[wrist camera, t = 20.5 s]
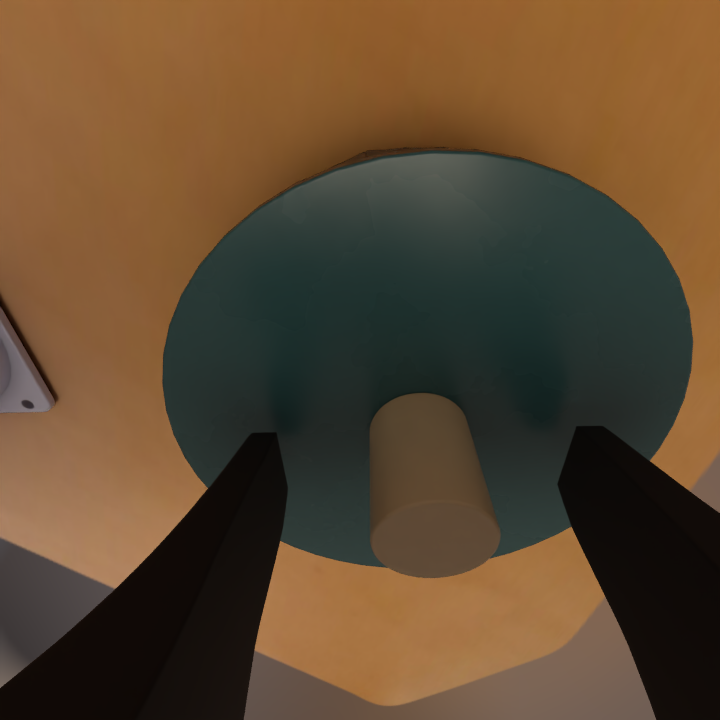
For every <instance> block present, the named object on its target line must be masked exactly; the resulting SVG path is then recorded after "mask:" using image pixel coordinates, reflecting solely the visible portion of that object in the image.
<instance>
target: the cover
mask: <svg viewBox="0 0 720 720" xmlns="http://www.w3.org/2000/svg"><path fill="white" fill-rule="evenodd" d="M692 350H693V336H692V328H691V320H690V311H689V308H688V305H687V302H686V298H685V295H684V292H683V289H682V286H681V283H680V280H679V278H678V276H677V274H676V272H675V270H674V269H673V267H672V265H671V263H670V261H669V260H668V258H667V256H666V254H665V253H664V251H663V249H662V248H661V246H660V245H659V244H658V243H657V242H656V241H655V239H654V238H653V237H652V236H651V235H650V234H649V232H648V231H647V230H646V229H645V228H644V227H643V225H642V224H641V223H640V222H639V221H638V220H637V219H636V218H635V217H634V216H632V215H631V214H630V213H629V212H627V211H626V210H625V209H624V208H622V207H621V206H620V205H619V204H617V203H616V202H615V201H614V200H612V199H611V198H610V197H609V196H607V195H606V194H604V193H602V192H600V191H598V190H597V189H595V188H593V187H591V186H589V185H587V184H586V183H584V182H582V181H580V180H578V179H576V178H575V177H573V176H571V175H569V174H566V173H564V172H561V171H558V170H555V169H553V168H550V167H547V166H544V165H541V164H538V163H535V162H532V161H530V160H527V159H524V158H521V157H516V156H511V155H505V154H499V153H494V152H488V151H483V150H477V149H452V148H423V149H414V150H406V151H397V152H389V153H381V154H377V155H374V156H370V157H366V158H362V159H359V160H355V161H351V162H348V163H344V164H340V165H337V166H334V167H332V168H330V169H327V170H325V171H323V172H320V173H318V174H316V175H313V176H311V177H309V178H306V179H304V180H302V181H299V182H297V183H295V184H293V185H292V186H290V187H289V188H287V189H285V190H284V191H282V192H280V193H279V194H277V195H276V196H274V197H272V198H271V199H269V200H267V201H266V202H264V203H263V204H261V205H259V206H258V207H257V208H256V209H255V210H254V211H252V212H251V213H250V214H249V215H248V216H247V217H245V218H244V219H243V220H242V221H241V222H239V223H238V224H237V225H236V226H235V227H234V228H232V229H231V230H230V231H229V232H228V233H227V234H226V235H225V236H224V237H223V238H222V239H221V240H220V242H219V243H218V244H217V245H216V246H215V247H214V249H213V250H212V251H211V252H210V253H209V254H208V255H207V257H206V258H205V259H204V260H203V261H202V262H201V264H200V265H199V266H198V268H197V270H196V271H195V273H194V275H193V276H192V278H191V280H190V281H189V283H188V285H187V286H186V288H185V290H184V291H183V293H182V294H181V297H180V299H179V302H178V304H177V307H176V309H175V312H174V315H173V317H172V320H171V322H170V325H169V329H168V334H167V339H166V344H165V349H164V354H163V391H164V398H165V405H166V411H167V414H168V417H169V421H170V424H171V427H172V430H173V434H174V436H175V438H176V440H177V442H178V444H179V446H180V448H181V450H182V452H183V455H184V457H185V458H186V460H187V461H188V463H189V464H190V466H191V467H192V469H193V470H194V472H195V473H196V475H197V476H198V477H199V479H200V480H201V481H202V482H203V483H204V484H205V485H206V487H207V488H209V487H210V486H211V484H212V483H213V482H214V481H215V479H216V478H217V477H218V476H219V474H220V473H221V472H222V470H223V469H224V468H225V467H226V465H227V464H228V463H229V461H230V460H231V459H232V457H233V456H234V455H235V453H236V452H237V451H238V449H239V448H240V447H241V445H242V444H243V443H244V441H245V440H246V439H247V437H248V436H249V435H250V434H251V433H263V432H277V437H278V442H279V447H280V451H281V456H282V461H283V466H284V471H285V475H286V480H287V485H288V494H287V502H286V510H285V518H284V525H283V531H282V535H281V539H280V541H282V542H284V543H286V544H289V545H291V546H293V547H296V548H298V549H301V550H304V551H307V552H310V553H312V554H315V555H319V556H323V557H326V558H330V559H334V560H338V561H343V562H348V563H354V564H359V565H366V566H376V567H385V568H390V569H392V570H394V571H396V572H399V573H401V574H405V575H409V576H414V577H422V578H440V577H448V576H454V575H458V574H461V573H464V572H467V571H470V570H472V569H474V568H476V567H478V566H480V565H482V564H483V563H484V562H486V561H487V560H488V559H490V558H493V557H497V556H501V555H505V554H508V553H511V552H514V551H517V550H520V549H523V548H526V547H528V546H531V545H534V544H536V543H539V542H541V541H543V540H545V539H548V538H550V537H552V536H554V535H556V534H559V533H560V532H562V531H564V530H566V529H568V528H569V527H571V524H570V521H569V518H568V515H567V513H566V510H565V507H564V504H563V501H562V498H561V495H560V492H559V488H558V485H557V483H558V480H559V477H560V474H561V471H562V468H563V465H564V462H565V459H566V456H567V453H568V450H569V447H570V444H571V441H572V438H573V435H574V432H575V429H576V426H604V427H605V428H607V429H608V430H609V431H611V432H612V433H614V434H615V435H616V436H618V437H619V438H620V439H622V440H623V441H624V442H626V443H627V444H628V445H629V446H631V447H632V448H633V449H635V450H636V451H637V452H639V453H640V454H641V455H642V456H644V457H645V458H646V459H648V460H649V461H650V460H651V458H652V457H653V456H654V455H655V453H656V452H657V451H658V450H659V448H660V446H661V445H662V443H663V441H664V440H665V438H666V436H667V435H668V433H669V431H670V430H671V428H672V426H673V425H674V422H675V420H676V417H677V415H678V413H679V410H680V408H681V405H682V403H683V401H684V398H685V394H686V390H687V386H688V381H689V377H690V373H691V365H692Z"/></svg>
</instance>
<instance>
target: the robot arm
mask: <svg viewBox="0 0 720 720" xmlns="http://www.w3.org/2000/svg"><path fill="white" fill-rule="evenodd" d="M54 405H55V401H54V398H53V397H52V395H51V393H50V391H49V390H48V388H47V386H46V384H45V383H44V381H43V379H42V378H41V376H40V374H39V372H38V371H37V369H36V367H35V365H34V364H33V362H32V360H31V358H30V357H29V355H28V353H27V352H26V350H25V348H24V346H23V345H22V343H21V341H20V339H19V338H18V336H17V334H16V333H15V331H14V329H13V327H12V326H11V324H10V322H9V320H8V319H7V317H6V315H5V313H4V312H3V310H2V308H1V307H0V413H17V412H46V411H49V410H50V409H51V408H52V407H53V406H54ZM557 485H558V488H559V492H560V495H561V498H562V501H563V504H564V507H565V510H566V513H567V515H568V518H569V521H570V524H571V526H572V528H573V531H574V533H575V535H576V537H577V539H578V541H579V543H580V545H581V547H582V550H583V552H584V554H585V556H586V558H587V560H588V562H589V564H590V566H591V568H592V570H593V572H594V574H595V576H596V578H597V580H598V582H599V584H600V586H601V589H602V591H603V593H604V595H605V597H606V599H607V601H608V603H609V605H610V607H611V609H612V611H613V613H614V615H615V617H616V619H617V621H618V623H619V625H620V628H621V630H622V632H623V634H624V637H625V639H626V641H627V643H628V645H629V648H630V651H631V653H632V656H633V658H634V661H635V664H636V666H637V669H638V672H639V674H640V677H641V679H642V682H643V685H644V687H645V690H646V692H647V695H648V698H649V700H650V703H651V706H652V709H653V712H654V714H655V717H656V720H720V513H718V512H717V511H716V510H714V509H713V508H712V507H710V506H709V505H707V504H706V503H705V502H703V501H702V500H701V499H699V498H698V497H697V496H695V495H694V494H692V493H691V492H690V491H688V490H687V489H686V488H684V487H683V486H682V485H680V484H679V483H678V482H676V481H675V480H674V479H673V478H671V477H670V476H669V475H667V474H666V473H665V472H663V471H662V470H661V469H659V468H658V467H657V466H655V465H654V464H653V463H652V462H650V461H649V460H648V459H646V458H645V457H644V456H642V455H641V454H640V453H639V452H637V451H636V450H635V449H633V448H632V447H631V446H629V445H628V444H627V443H626V442H624V441H623V440H622V439H620V438H619V437H618V436H616V435H615V434H614V433H612V432H611V431H609V430H608V429H607V428H605V427H604V426H576V429H575V432H574V435H573V438H572V441H571V444H570V447H569V450H568V453H567V456H566V459H565V462H564V465H563V468H562V471H561V474H560V477H559V480H558V483H557ZM287 494H288V485H287V480H286V475H285V471H284V466H283V461H282V456H281V451H280V447H279V442H278V437H277V432H263V433H251V434H250V435H249V436H248V437H247V439H246V440H245V441H244V443H243V444H242V445H241V447H240V448H239V449H238V451H237V452H236V453H235V455H234V456H233V457H232V459H231V460H230V461H229V463H228V464H227V465H226V467H225V468H224V469H223V470H222V472H221V473H220V474H219V476H218V477H217V478H216V479H215V481H214V482H213V483H212V484H211V486H210V487H209V488H208V489H207V490H206V492H205V493H204V494H203V495H202V497H201V498H200V499H199V500H198V501H197V503H196V504H195V505H194V506H193V507H192V509H191V510H190V511H189V512H188V513H187V514H186V516H185V517H184V518H183V519H182V520H181V521H180V522H179V523H178V525H177V526H176V527H175V528H174V529H173V530H172V531H171V532H170V534H169V535H168V536H167V537H166V538H165V539H164V540H163V541H162V542H161V543H160V545H159V546H158V547H157V548H156V549H155V550H154V551H153V552H152V553H151V554H150V555H149V556H148V557H147V558H146V559H145V560H144V561H143V562H142V563H141V564H140V565H139V566H138V567H137V568H136V569H135V570H134V571H133V572H132V573H131V574H130V575H129V576H128V577H127V578H126V579H125V580H124V581H123V582H122V583H121V584H120V585H119V586H118V587H117V588H116V589H115V590H114V591H113V592H112V593H111V594H110V595H108V596H107V597H106V598H105V599H104V600H103V601H102V602H101V603H100V604H99V605H98V606H96V607H95V608H94V609H93V610H92V611H91V612H90V613H89V614H88V615H87V616H86V617H84V618H83V619H82V620H81V621H80V622H79V623H78V624H77V625H76V626H75V627H73V628H72V629H71V630H70V631H69V632H68V633H67V634H65V635H64V636H63V637H62V638H61V639H59V640H58V641H57V642H56V643H55V644H54V645H52V646H51V647H50V648H49V649H47V650H46V651H45V652H44V653H43V654H41V655H40V656H39V657H38V658H37V659H35V660H34V661H33V662H32V663H30V664H29V665H28V666H27V667H25V668H24V669H23V670H22V671H21V672H19V673H18V674H17V675H16V676H14V677H13V678H12V679H11V680H10V681H8V682H7V683H6V684H5V685H4V686H2V687H1V688H0V720H244V713H245V707H246V700H247V693H248V687H249V680H250V673H251V667H252V662H253V655H254V649H255V644H256V639H257V634H258V629H259V625H260V620H261V616H262V612H263V608H264V604H265V600H266V596H267V592H268V588H269V584H270V580H271V576H272V572H273V568H274V564H275V560H276V556H277V551H278V547H279V543H280V539H281V535H282V531H283V525H284V518H285V510H286V502H287Z"/></svg>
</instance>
